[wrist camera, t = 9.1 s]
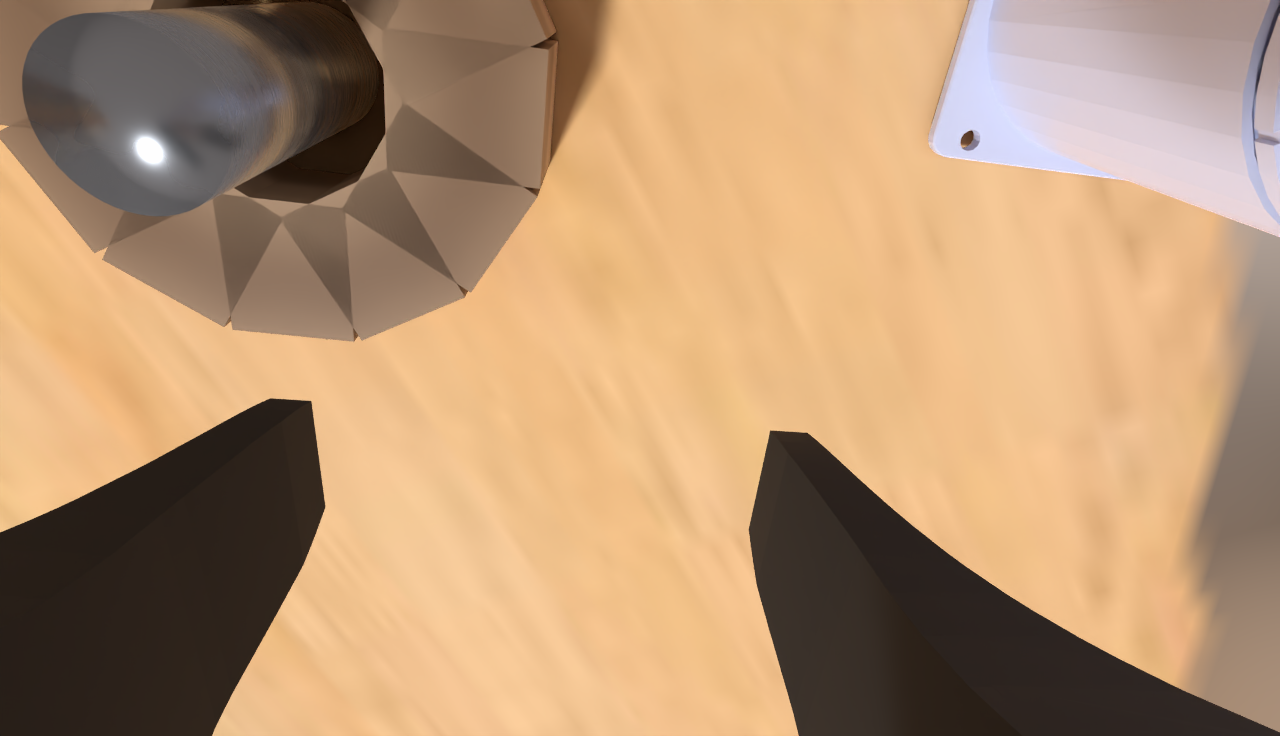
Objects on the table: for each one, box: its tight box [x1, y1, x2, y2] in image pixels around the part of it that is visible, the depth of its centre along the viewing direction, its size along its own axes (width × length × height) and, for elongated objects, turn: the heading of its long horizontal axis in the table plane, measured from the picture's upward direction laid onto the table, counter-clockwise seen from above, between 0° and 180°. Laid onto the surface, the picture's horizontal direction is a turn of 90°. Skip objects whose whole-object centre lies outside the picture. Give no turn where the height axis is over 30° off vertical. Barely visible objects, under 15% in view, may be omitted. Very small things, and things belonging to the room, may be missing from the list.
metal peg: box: [22, 2, 379, 216], centre depth 15 cm, size 3×3×8 cm
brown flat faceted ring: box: [0, 0, 558, 342], centre depth 17 cm, size 12×12×3 cm
